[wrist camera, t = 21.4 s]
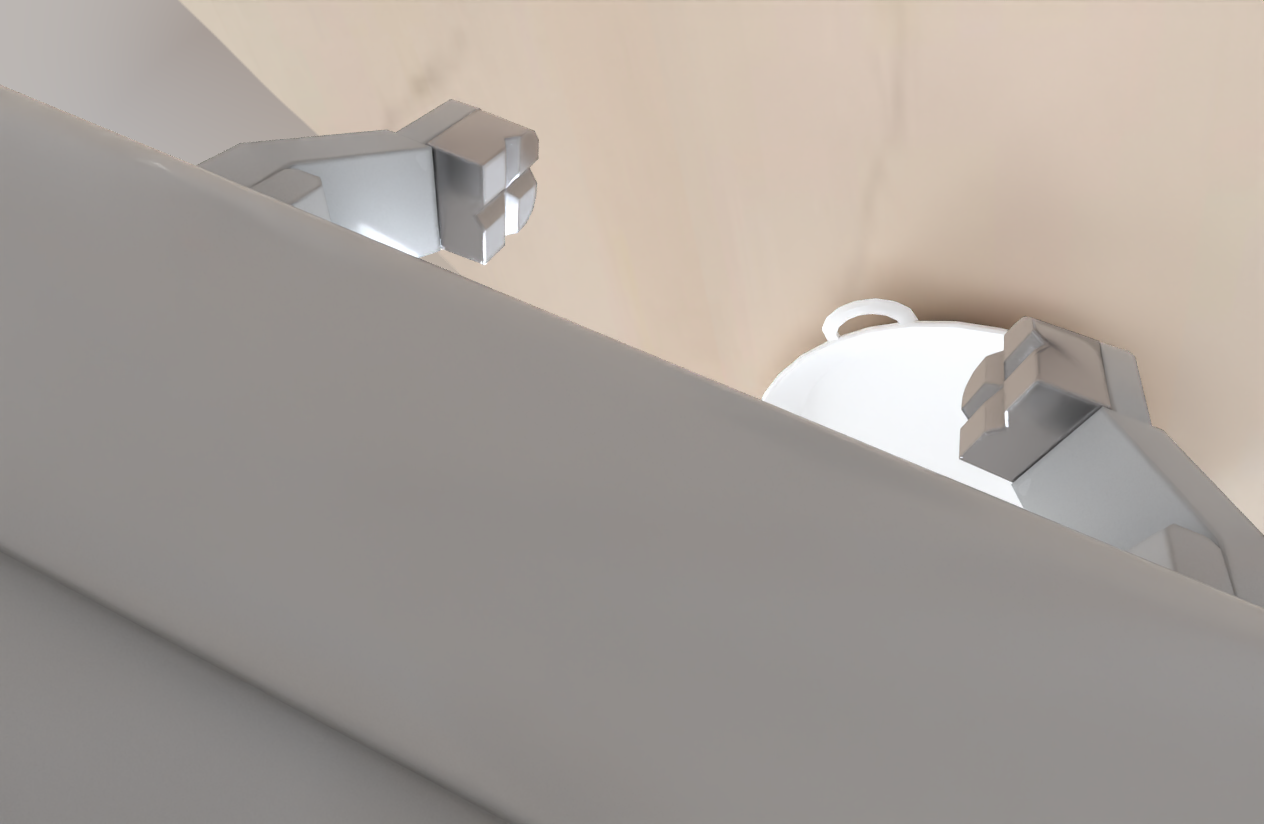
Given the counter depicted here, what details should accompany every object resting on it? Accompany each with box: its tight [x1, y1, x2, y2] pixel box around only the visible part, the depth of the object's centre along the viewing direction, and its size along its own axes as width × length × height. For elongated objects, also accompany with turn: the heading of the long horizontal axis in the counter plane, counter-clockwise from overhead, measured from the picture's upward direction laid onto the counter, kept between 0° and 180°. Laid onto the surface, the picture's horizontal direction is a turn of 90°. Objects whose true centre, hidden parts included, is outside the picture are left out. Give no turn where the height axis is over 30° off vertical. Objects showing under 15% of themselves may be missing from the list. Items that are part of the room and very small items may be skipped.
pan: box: [762, 298, 1024, 509], centre depth 52 cm, size 34×28×4 cm
